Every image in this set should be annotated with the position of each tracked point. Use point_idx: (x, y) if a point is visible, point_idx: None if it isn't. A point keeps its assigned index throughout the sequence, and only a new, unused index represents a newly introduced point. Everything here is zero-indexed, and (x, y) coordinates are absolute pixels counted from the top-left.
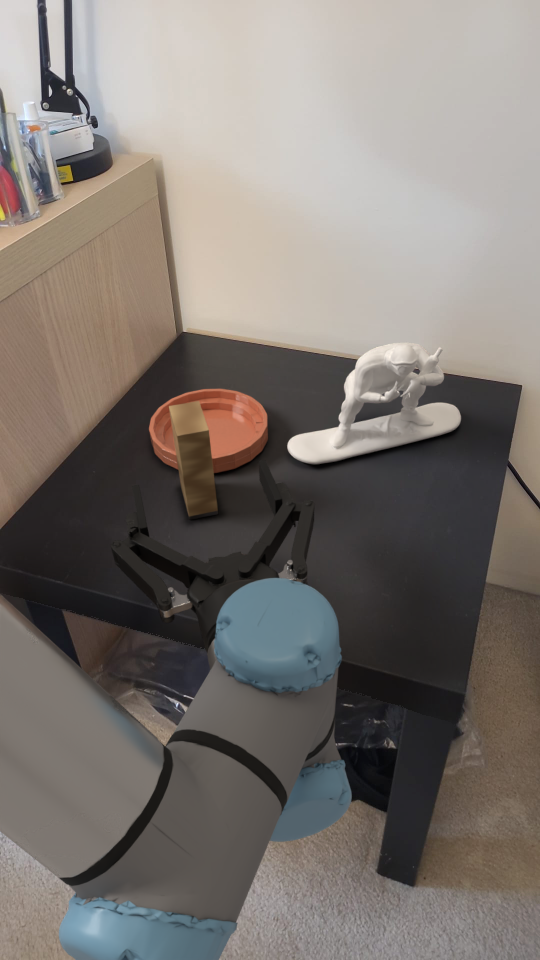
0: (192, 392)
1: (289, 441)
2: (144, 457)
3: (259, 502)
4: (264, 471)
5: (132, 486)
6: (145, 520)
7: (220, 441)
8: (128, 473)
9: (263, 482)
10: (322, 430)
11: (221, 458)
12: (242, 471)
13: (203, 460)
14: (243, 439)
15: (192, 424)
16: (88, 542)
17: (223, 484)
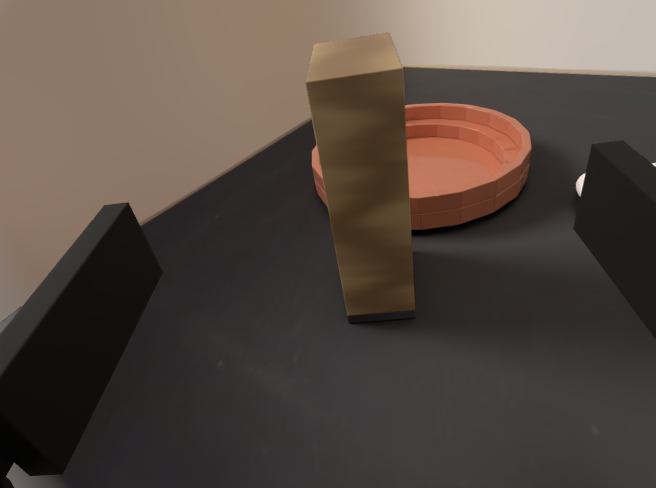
0: None
1: (581, 178)
2: (300, 199)
3: (517, 301)
4: (636, 177)
5: (105, 207)
6: (13, 354)
7: (434, 179)
8: (266, 222)
9: (613, 232)
10: (652, 163)
11: (434, 199)
12: (475, 231)
13: (384, 173)
14: (478, 177)
15: (358, 62)
16: (136, 345)
17: (433, 253)
